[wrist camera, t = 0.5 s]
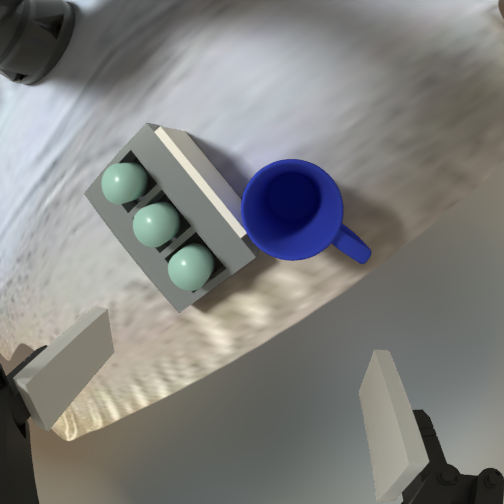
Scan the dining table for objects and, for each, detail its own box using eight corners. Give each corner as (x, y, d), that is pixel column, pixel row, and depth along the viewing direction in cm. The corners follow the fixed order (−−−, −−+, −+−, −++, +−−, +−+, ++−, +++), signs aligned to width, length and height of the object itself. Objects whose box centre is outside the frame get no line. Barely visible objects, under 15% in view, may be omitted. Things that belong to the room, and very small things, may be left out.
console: (97, 190, 36) (84, 193, 33) (158, 125, 33) (146, 122, 30) (186, 302, 39) (179, 313, 36) (259, 249, 36) (255, 257, 33)
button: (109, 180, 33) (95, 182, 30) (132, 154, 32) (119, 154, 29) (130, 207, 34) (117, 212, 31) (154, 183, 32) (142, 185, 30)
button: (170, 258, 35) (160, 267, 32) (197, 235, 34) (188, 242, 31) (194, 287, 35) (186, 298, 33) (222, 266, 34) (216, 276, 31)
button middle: (138, 218, 34) (125, 223, 31) (163, 193, 33) (151, 197, 30) (161, 247, 35) (150, 255, 32) (188, 224, 33) (178, 230, 30)
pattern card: (178, 137, 33) (152, 134, 26) (185, 131, 33) (160, 126, 26) (248, 224, 35) (238, 240, 28) (256, 218, 35) (247, 233, 28)
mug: (331, 263, 35) (343, 301, 26) (242, 208, 35) (222, 227, 25) (371, 204, 32) (399, 223, 23) (279, 145, 32) (274, 139, 22)
